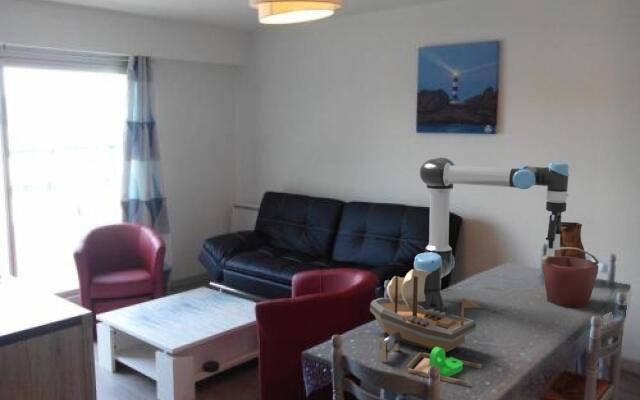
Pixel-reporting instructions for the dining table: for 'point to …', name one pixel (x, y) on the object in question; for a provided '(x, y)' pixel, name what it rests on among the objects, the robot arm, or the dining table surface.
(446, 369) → the mechanical part
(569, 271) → the bucket
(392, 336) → the winch
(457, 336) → the sailing ship
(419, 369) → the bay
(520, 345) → the dining table surface
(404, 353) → the dining table surface
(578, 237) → the pitcher
